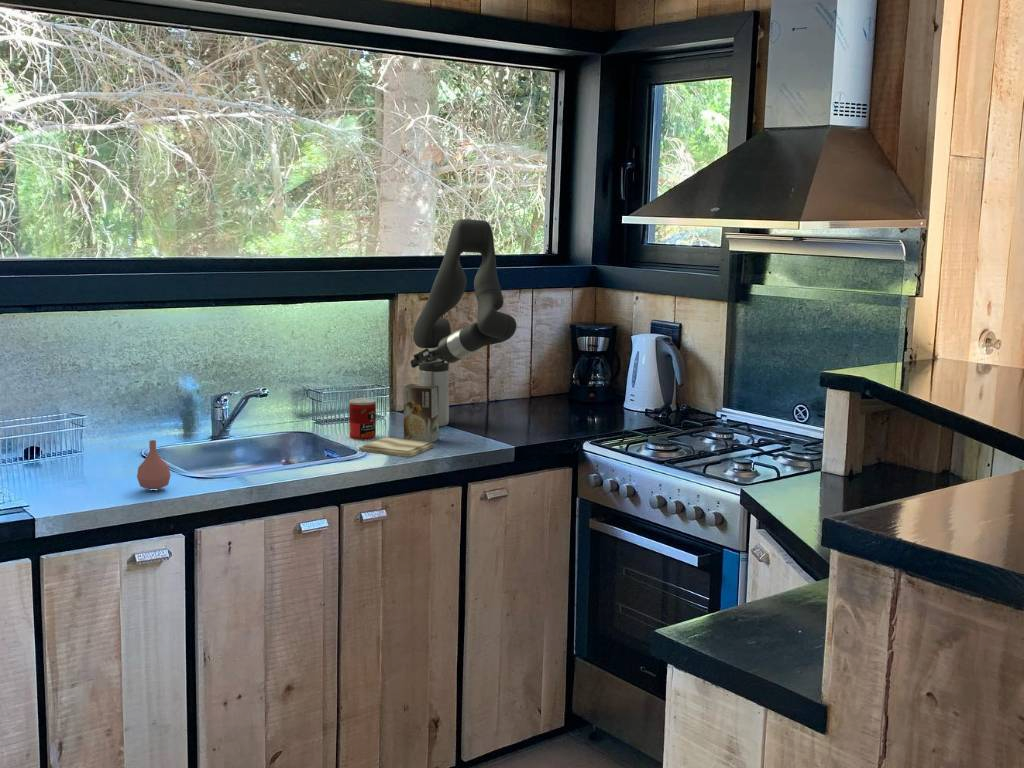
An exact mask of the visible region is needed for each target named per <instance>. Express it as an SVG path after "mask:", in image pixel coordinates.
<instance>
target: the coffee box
mask: <svg viewBox="0 0 1024 768" xmlns="http://www.w3.org/2000/svg"><path fill="white" fill-rule="evenodd" d="M402 389H403V390H402V391H403V392H402V394H403V439H405V440H414V441H422V442H430V444H433V443H434V442H436V441H438V440H440V435H439V432H440V431H439V427H440V426H439V392H438V389H439V388H438V386H435V385H421V384H419V383H410V384H407V385H405V386H403V388H402ZM437 439H438V440H437ZM432 442H433V443H432Z"/></svg>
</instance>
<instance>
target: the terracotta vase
mask: <svg viewBox="0 0 1024 768" xmlns="http://www.w3.org/2000/svg"><path fill="white" fill-rule="evenodd" d="M148 444H149V445H148V446H149V451H148V453H147V455H146V457H145V459H144V460H143V461H142V462H141V463H140V464H139V466H138V468H137V474H136V478H137V481H138V483H139V486H140V487H141V488H143V489H147V490H149V489H159V488H160V489H162V488H164V487H167V486H168V485H169V483H170V479H171V475H172V474H171V471H170V466H169V465H168V464H167V462H165V461H164V460H163V459H162V458H161V455H160V454H159V453H158V450H157V440H154V439H152V440H149V443H148ZM160 489H159V490H160Z"/></svg>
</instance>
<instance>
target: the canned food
mask: <svg viewBox="0 0 1024 768" xmlns="http://www.w3.org/2000/svg"><path fill="white" fill-rule="evenodd" d="M348 404H349V405H348V410H349V411H348V415H349V418H348V421H349V423H348V424H349V431H348V432H349V437H350V438H351V439H353V440H358V439H359V441H360V439H362V440H363V441H365V439H367V440H372V439H374V438H375V437H376V435H377V434H376V431H377V429H376V428H377V423H376V422H377V421H376V419H377V418H376V417H377V415H376V414H377V408H376V407H377V406H376V405H377V404H376V400H375V399H374V398H367V397H362V398H361V397H359V398H358V397H357V398H352V399H350V400H349V402H348Z"/></svg>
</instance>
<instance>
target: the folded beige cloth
mask: <svg viewBox="0 0 1024 768" xmlns="http://www.w3.org/2000/svg"><path fill="white" fill-rule="evenodd" d="M434 446H435V444H434V443H430V442H422V441H414V440H405V439H404V438H403V439H402V438H395V437H389V436H387V437H386V436H385V437H382V438H380V439H378V440H374V441H372V442H369V443H365V444H364V445H362V446H359V447H358V451H359V452H364V451H368V452H367V453H372V454H380V453H381V455H388V454H389V456H395V455H396V456H395V457H397V456H399V457H403V456H404V457H405V458H411V457H413V456H415V455H418V454H421V453H423V452H426V451H428V450H430V448H431V449H433V448H434ZM432 447H433V448H432ZM427 449H428V450H427ZM360 450H361V451H360ZM425 450H426V451H425ZM420 452H421V453H420Z"/></svg>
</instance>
